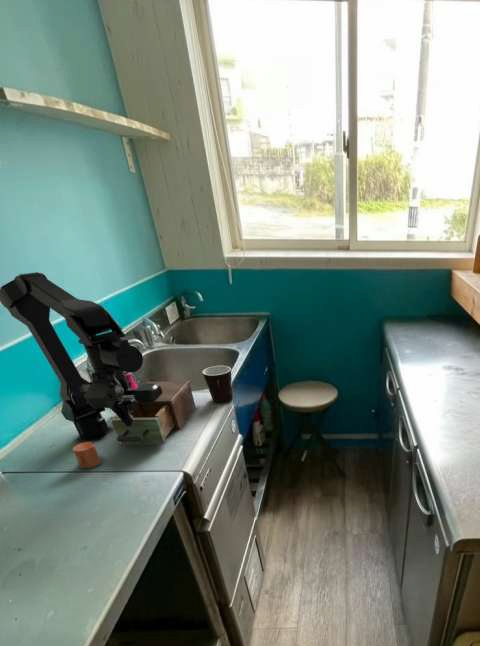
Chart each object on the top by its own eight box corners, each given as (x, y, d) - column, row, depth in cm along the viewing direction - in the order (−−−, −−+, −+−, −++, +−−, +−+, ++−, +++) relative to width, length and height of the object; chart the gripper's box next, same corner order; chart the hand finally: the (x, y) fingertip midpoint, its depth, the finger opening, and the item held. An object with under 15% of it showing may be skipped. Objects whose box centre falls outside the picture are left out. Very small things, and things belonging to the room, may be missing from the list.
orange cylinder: (104, 458, 100) (96, 441, 97) (92, 471, 95) (84, 453, 93) (86, 459, 100) (78, 442, 97) (74, 471, 95) (65, 454, 92)
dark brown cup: (216, 393, 134) (210, 365, 128) (240, 394, 133) (235, 366, 127) (200, 408, 124) (192, 378, 119) (226, 409, 123) (219, 379, 118)
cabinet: (179, 430, 112) (171, 400, 107) (135, 431, 112) (124, 401, 107) (196, 408, 124) (188, 380, 119) (156, 408, 124) (147, 381, 119)
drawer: (157, 453, 100) (148, 428, 96) (112, 454, 100) (101, 429, 96) (182, 420, 115) (175, 397, 111) (143, 421, 115) (135, 398, 111)
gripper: (42, 378, 82) (73, 442, 91) (131, 376, 83) (154, 440, 91) (73, 361, 92) (98, 420, 100) (153, 359, 92) (171, 418, 101)
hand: (129, 425), depth 98 cm, fingers closed
